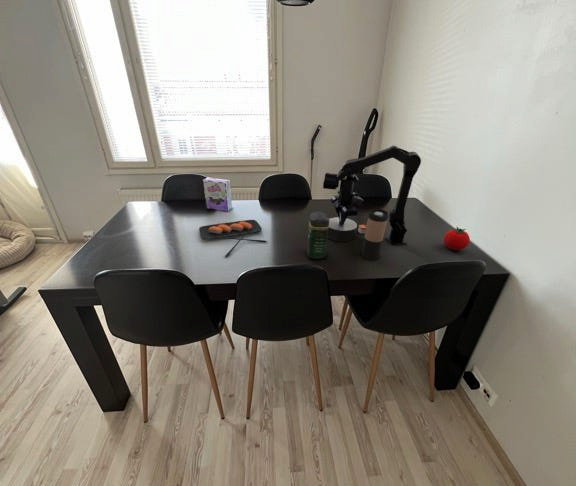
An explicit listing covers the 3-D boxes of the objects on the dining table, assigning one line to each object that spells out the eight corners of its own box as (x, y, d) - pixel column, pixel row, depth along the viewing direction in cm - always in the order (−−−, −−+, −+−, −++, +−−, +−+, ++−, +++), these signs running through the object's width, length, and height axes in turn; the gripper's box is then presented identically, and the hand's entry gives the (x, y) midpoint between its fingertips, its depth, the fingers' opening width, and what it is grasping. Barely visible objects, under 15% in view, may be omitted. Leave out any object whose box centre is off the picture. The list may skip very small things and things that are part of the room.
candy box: (206, 208, 167) (201, 179, 157) (211, 205, 171) (207, 176, 162) (228, 212, 163) (225, 182, 154) (232, 208, 168) (230, 179, 159)
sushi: (370, 229, 149) (371, 224, 147) (373, 232, 146) (374, 227, 144) (357, 230, 148) (358, 224, 146) (360, 233, 145) (361, 228, 143)
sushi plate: (255, 222, 153) (255, 215, 151) (273, 249, 130) (273, 241, 128) (198, 229, 144) (197, 222, 142) (207, 260, 121) (206, 252, 119)
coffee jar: (326, 260, 124) (331, 219, 113) (308, 260, 123) (311, 219, 113) (323, 248, 132) (327, 209, 121) (306, 248, 131) (308, 209, 121)
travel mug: (365, 249, 132) (374, 207, 121) (381, 255, 128) (392, 212, 117) (357, 255, 127) (365, 212, 116) (373, 262, 123) (383, 217, 112)
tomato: (468, 249, 135) (477, 229, 129) (460, 257, 129) (468, 236, 123) (445, 241, 141) (453, 221, 135) (436, 248, 135) (443, 228, 129)
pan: (358, 240, 139) (360, 229, 136) (331, 242, 137) (332, 232, 134) (347, 227, 150) (349, 217, 147) (322, 229, 148) (323, 219, 145)
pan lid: (361, 231, 136) (363, 220, 133) (331, 233, 133) (332, 222, 130) (349, 218, 148) (351, 208, 145) (321, 220, 145) (322, 209, 142)
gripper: (371, 196, 125) (365, 229, 134) (354, 183, 140) (349, 213, 149) (347, 198, 123) (342, 231, 132) (332, 184, 138) (329, 215, 147)
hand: (341, 222), depth 140 cm, fingers closed on pan lid, 2 cm apart
